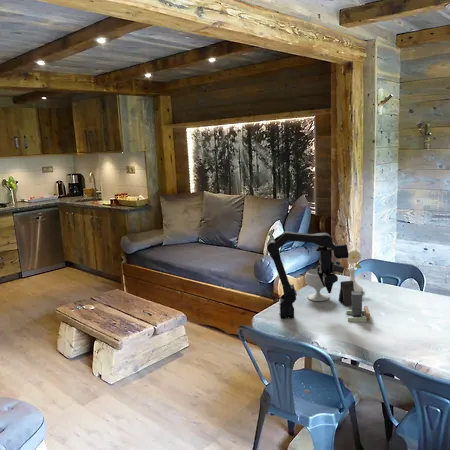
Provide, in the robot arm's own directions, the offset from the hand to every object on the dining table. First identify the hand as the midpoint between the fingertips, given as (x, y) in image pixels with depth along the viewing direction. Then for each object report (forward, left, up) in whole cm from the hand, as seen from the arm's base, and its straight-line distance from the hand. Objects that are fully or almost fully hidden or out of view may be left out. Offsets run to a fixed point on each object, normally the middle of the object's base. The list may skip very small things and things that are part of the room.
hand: (327, 289), depth 212 cm
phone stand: (+14, +14, -13) cm, 24 cm away
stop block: (+13, -5, -13) cm, 19 cm away
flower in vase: (+22, +29, -13) cm, 39 cm away
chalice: (+1, +24, -13) cm, 28 cm away
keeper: (+13, -5, -13) cm, 19 cm away
